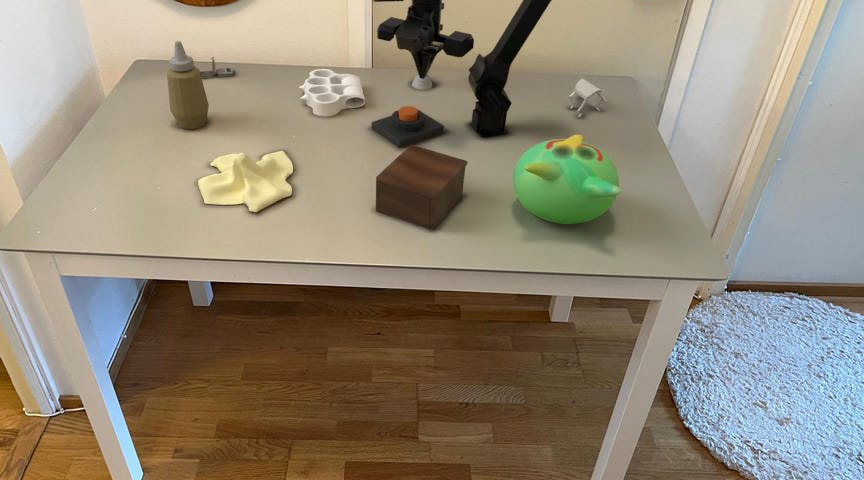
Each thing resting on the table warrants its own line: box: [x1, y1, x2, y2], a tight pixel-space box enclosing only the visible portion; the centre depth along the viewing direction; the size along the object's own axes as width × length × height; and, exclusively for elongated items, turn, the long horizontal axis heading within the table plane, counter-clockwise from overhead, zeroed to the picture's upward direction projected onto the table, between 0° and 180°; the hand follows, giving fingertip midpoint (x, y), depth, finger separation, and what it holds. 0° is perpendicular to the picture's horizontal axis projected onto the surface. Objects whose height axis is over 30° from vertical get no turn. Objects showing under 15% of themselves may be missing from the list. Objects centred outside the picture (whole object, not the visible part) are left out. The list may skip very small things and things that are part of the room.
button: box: [398, 105, 419, 121], centre depth 145 cm, size 4×4×2 cm
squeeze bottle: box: [166, 40, 210, 130], centre depth 142 cm, size 8×8×18 cm
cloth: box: [197, 150, 294, 213], centre depth 129 cm, size 22×19×6 cm
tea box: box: [375, 167, 466, 231], centre depth 124 cm, size 13×12×6 cm
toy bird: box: [512, 133, 623, 225], centre depth 119 cm, size 18×17×15 cm
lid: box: [375, 144, 468, 199], centre depth 122 cm, size 13×12×1 cm
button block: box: [371, 107, 445, 149], centre depth 146 cm, size 12×10×4 cm
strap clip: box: [200, 56, 234, 79], centre depth 165 cm, size 8×3×4 cm, turn 104°
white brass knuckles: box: [298, 68, 366, 118], centre depth 157 cm, size 3×18×15 cm
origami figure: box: [568, 77, 608, 118], centre depth 156 cm, size 12×8×5 cm
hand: (422, 78), depth 139 cm, fingers closed
